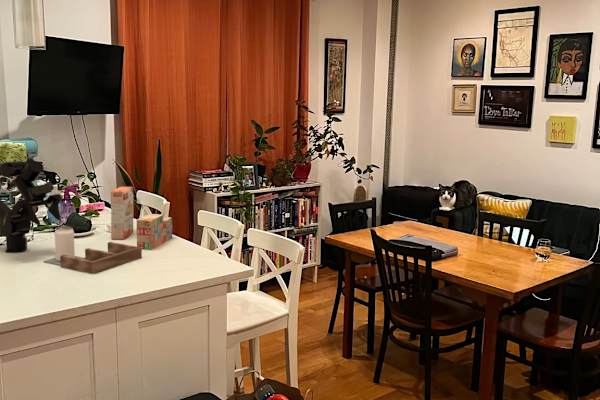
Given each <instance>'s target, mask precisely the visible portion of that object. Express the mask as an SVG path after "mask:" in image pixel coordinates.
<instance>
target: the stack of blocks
mask: <svg viewBox="0 0 600 400" xmlns="http://www.w3.org/2000/svg"><path fill="white" fill-rule="evenodd" d="M171 239H173V218H172V217H170V216H169V217H168V216H164V214H160V213H159V214H158V213H148V214H146V215H144V216H142V217H140V218H137V219H136V247H142V250H148V251H152V250H154V249H157V247H160V246H161V245H162V244H164V243H166V242H168V241H169V240H171Z"/></svg>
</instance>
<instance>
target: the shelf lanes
mask: <svg viewBox="0 0 600 400" xmlns="http://www.w3.org/2000/svg"><path fill="white" fill-rule="evenodd" d="M142 250H143V249H142V247H137V245H136V246H135V245H132V244H131V245H129V244H124V243H119V242H113V241H108V242H107V251H104V250H99V249H94V248H90V247H87V248H85V249H84V255H85V257H84V258H85V259H80V258H75V257H70V256H65V255H62V256H60V263H61V266H60V268H64V269H69V270H72V271H73V270H74V271H77V272H81V273H82V272H84V273H86V272H87V273H86V274H91V273H92V275H94V273H95V274H98V273H101V272H105V271H106V270H109V269H112V268H115V267H119V266H122V265H125V264H127V263H130V262H133V261H137V260H139V259H142V257H143V256H142V253H143V251H142ZM90 260H91V261H90ZM97 272H98V273H97Z"/></svg>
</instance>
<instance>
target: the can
mask: <svg viewBox="0 0 600 400" xmlns="http://www.w3.org/2000/svg"><path fill="white" fill-rule="evenodd" d="M54 247H55V258H56V260H57V261H59V262H60V256H62V255H65V256H70V257H75V256H76V255H75V231H74V228H73V226H69V225H62V226H61V225H60V226H56V228H55V231H54Z"/></svg>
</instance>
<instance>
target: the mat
mask: <svg viewBox="0 0 600 400" xmlns="http://www.w3.org/2000/svg"><path fill="white" fill-rule="evenodd" d="M75 258H80V259H85V257H83V256H78V255H75ZM42 263H45V264H50V265H56V266H60V267H61V263H60V262H59V261H57V260H56V257H54V258H50V259H46V260H43V261H42Z"/></svg>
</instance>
